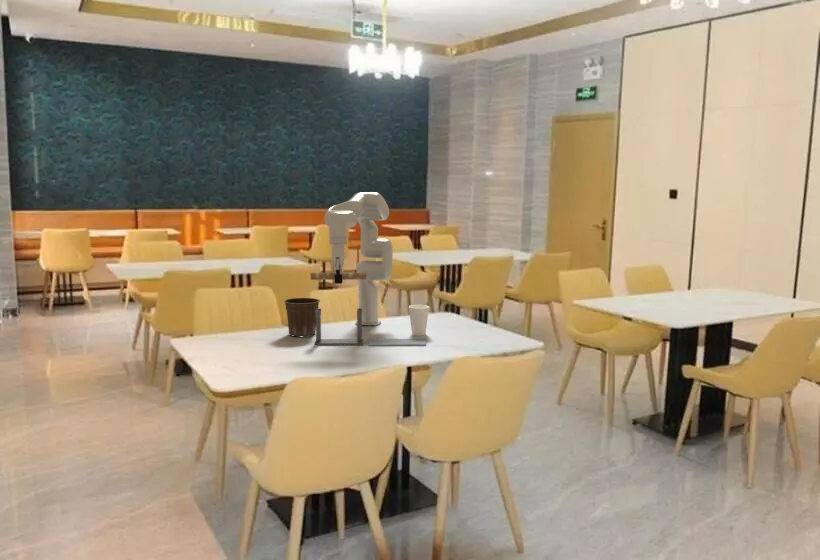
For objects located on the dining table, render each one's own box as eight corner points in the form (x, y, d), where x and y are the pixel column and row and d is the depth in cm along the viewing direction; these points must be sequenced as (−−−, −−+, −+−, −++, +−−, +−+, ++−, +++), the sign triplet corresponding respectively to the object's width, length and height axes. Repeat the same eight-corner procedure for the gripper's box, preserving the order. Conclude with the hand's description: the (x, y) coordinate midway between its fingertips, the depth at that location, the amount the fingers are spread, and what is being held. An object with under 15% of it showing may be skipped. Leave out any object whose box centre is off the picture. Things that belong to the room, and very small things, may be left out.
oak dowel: (310, 280, 309) (310, 273, 308) (311, 279, 312) (311, 272, 311) (366, 280, 310) (366, 273, 309) (366, 279, 312) (366, 272, 312)
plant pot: (311, 329, 343) (310, 296, 340) (326, 335, 329) (325, 301, 327) (279, 333, 334) (278, 299, 332) (293, 340, 321) (292, 304, 318)
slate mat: (369, 340, 320) (369, 338, 320) (424, 339, 321) (424, 338, 321) (368, 346, 310) (368, 344, 310) (426, 345, 311) (426, 344, 310)
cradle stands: (316, 341, 318) (315, 308, 316) (363, 341, 319) (363, 308, 317) (314, 345, 310) (313, 311, 308) (362, 345, 311) (362, 311, 309)
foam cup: (428, 336, 329) (428, 308, 327) (408, 336, 329) (408, 308, 327) (428, 331, 338) (428, 304, 336) (409, 331, 339) (409, 304, 337)
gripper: (330, 239, 316) (331, 280, 319) (328, 242, 300) (328, 285, 303) (347, 239, 316) (348, 280, 319) (345, 242, 300) (346, 285, 303)
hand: (338, 282), depth 311 cm, fingers closed on oak dowel, 3 cm apart
